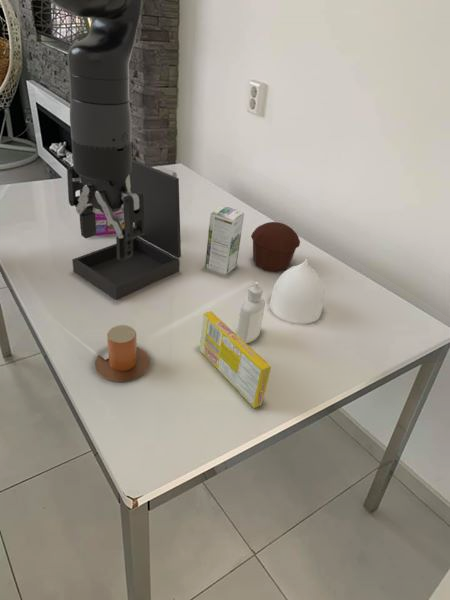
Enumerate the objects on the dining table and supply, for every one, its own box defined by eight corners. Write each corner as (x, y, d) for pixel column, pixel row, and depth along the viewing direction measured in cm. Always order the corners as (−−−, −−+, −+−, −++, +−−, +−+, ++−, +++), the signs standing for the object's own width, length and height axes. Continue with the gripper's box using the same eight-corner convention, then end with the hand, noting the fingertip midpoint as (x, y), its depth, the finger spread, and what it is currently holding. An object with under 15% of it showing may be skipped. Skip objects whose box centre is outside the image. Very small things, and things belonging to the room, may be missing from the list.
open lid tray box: (116, 303, 91) (115, 287, 89) (73, 274, 98) (72, 259, 96) (179, 274, 102) (179, 259, 100) (136, 250, 110) (136, 236, 107)
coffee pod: (120, 375, 74) (119, 346, 70) (103, 361, 76) (101, 332, 73) (142, 362, 77) (142, 334, 73) (124, 349, 79) (123, 321, 76)
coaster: (118, 390, 71) (118, 389, 71) (84, 362, 76) (83, 360, 76) (160, 364, 77) (160, 362, 77) (126, 339, 82) (126, 337, 82)
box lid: (175, 179, 88) (193, 172, 91) (127, 159, 96) (145, 153, 99) (178, 258, 100) (193, 250, 103) (135, 235, 107) (150, 227, 110)
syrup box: (215, 260, 109) (220, 204, 101) (237, 267, 107) (244, 210, 99) (204, 270, 105) (209, 212, 97) (227, 278, 103) (233, 219, 95)
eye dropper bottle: (266, 339, 86) (276, 286, 79) (240, 345, 83) (248, 291, 77) (255, 326, 89) (264, 274, 82) (230, 331, 87) (237, 278, 80)
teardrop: (321, 328, 91) (335, 277, 84) (266, 318, 92) (276, 267, 85) (321, 298, 100) (334, 250, 93) (272, 289, 101) (280, 241, 94)
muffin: (240, 265, 108) (245, 227, 103) (257, 247, 117) (263, 211, 111) (286, 280, 105) (294, 241, 99) (301, 260, 113) (309, 224, 108)
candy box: (264, 404, 72) (272, 365, 67) (253, 409, 71) (261, 370, 66) (208, 346, 82) (211, 309, 78) (198, 350, 81) (201, 313, 77)
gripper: (44, 124, 59) (56, 236, 68) (112, 156, 52) (116, 275, 61) (92, 119, 64) (98, 223, 73) (161, 146, 57) (157, 258, 66)
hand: (106, 247), depth 67 cm, fingers open, 8 cm apart
